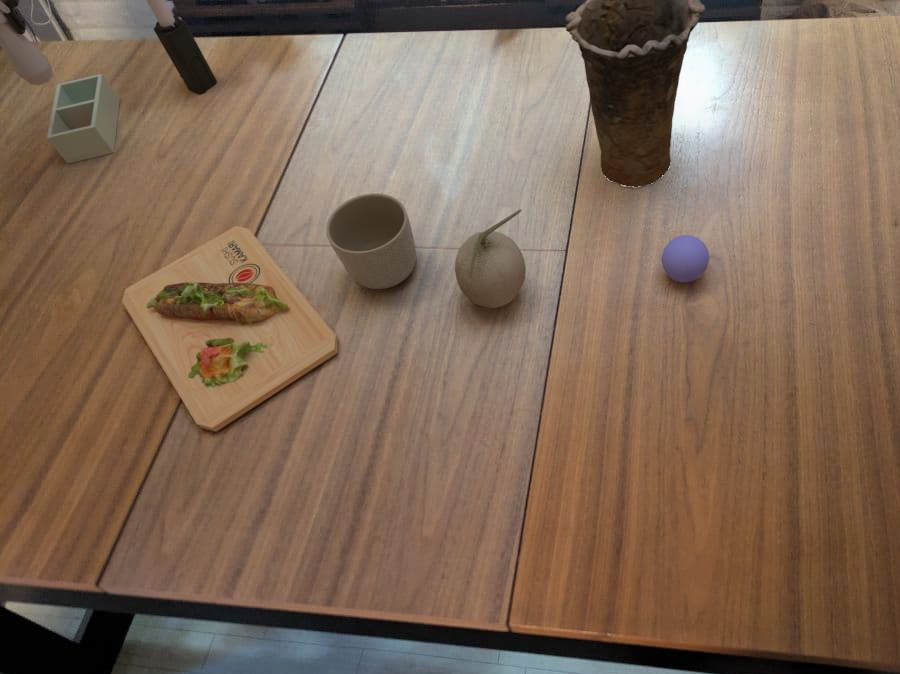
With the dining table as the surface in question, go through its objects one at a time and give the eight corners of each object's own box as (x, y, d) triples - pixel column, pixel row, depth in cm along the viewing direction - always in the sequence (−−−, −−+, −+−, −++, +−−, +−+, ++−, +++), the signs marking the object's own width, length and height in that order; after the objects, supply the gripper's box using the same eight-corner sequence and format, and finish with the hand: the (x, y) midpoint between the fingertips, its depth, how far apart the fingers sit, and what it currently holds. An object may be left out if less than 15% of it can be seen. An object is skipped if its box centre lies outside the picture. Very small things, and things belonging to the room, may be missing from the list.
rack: (67, 163, 138) (46, 138, 133) (76, 109, 147) (57, 83, 142) (114, 152, 138) (94, 126, 133) (120, 99, 147) (102, 73, 142)
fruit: (449, 316, 109) (427, 249, 96) (479, 262, 114) (462, 191, 102) (511, 333, 106) (497, 265, 94) (539, 277, 112) (529, 205, 99)
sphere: (670, 252, 112) (672, 220, 106) (712, 264, 110) (718, 232, 104) (653, 284, 109) (655, 252, 103) (697, 297, 107) (702, 265, 101)
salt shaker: (30, 70, 130) (-25, 0, 118) (61, 66, 129) (9, -6, 118) (22, 90, 127) (-35, 19, 115) (53, 85, 126) (-1, 14, 115)
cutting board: (346, 349, 108) (329, 319, 101) (208, 439, 102) (181, 413, 95) (247, 228, 124) (226, 195, 117) (123, 300, 118) (94, 269, 111)
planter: (382, 312, 111) (361, 266, 102) (334, 275, 116) (309, 227, 107) (439, 265, 115) (423, 216, 106) (390, 231, 120) (370, 181, 111)
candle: (203, 74, 149) (134, -52, 127) (219, 81, 147) (151, -45, 126) (185, 88, 147) (112, -38, 126) (201, 95, 145) (129, -31, 124)
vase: (649, 212, 116) (656, 61, 94) (559, 174, 123) (545, 25, 100) (704, 148, 123) (723, -8, 100) (616, 115, 130) (615, -37, 107)
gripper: (-24, -96, 109) (52, 14, 123) (-117, -75, 108) (-30, 32, 123) (-32, -73, 105) (47, 37, 119) (-129, -51, 104) (-38, 57, 119)
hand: (8, 34), depth 121 cm, fingers closed on salt shaker, 4 cm apart
